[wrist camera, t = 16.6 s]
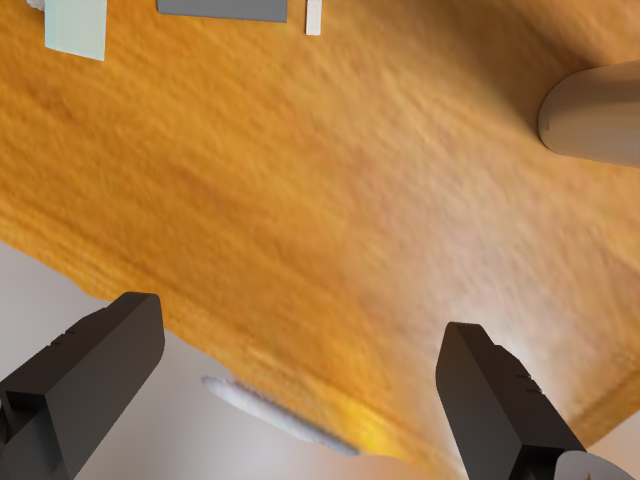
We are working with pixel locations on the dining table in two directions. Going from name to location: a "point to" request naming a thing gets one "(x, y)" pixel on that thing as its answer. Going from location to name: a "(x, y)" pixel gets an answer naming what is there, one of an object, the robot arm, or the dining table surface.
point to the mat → (227, 9)
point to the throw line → (314, 17)
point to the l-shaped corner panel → (74, 26)
